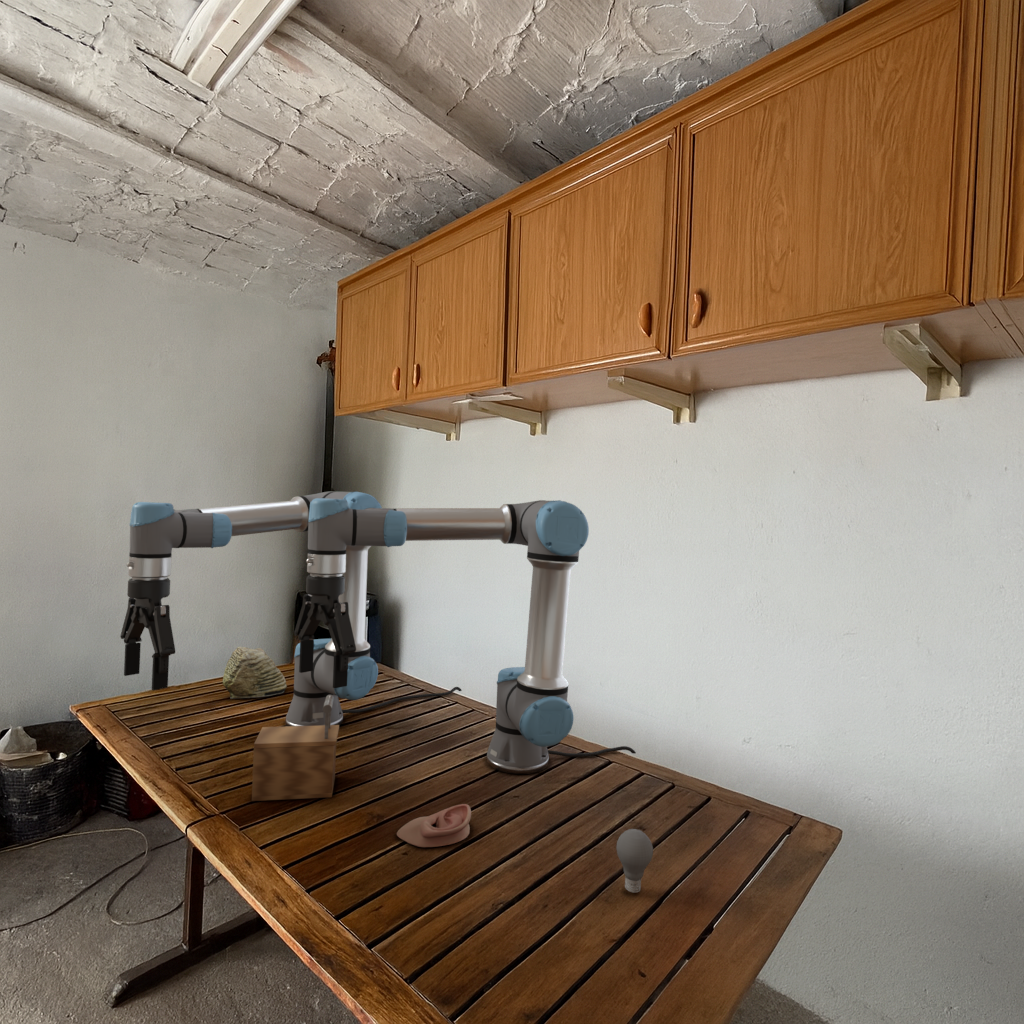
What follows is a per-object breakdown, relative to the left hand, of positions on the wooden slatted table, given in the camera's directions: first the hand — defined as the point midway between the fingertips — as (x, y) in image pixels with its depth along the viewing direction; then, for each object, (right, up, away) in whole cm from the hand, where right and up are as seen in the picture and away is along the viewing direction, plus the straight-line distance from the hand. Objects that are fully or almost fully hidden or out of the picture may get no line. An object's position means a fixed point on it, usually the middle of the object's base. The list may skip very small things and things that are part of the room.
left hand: (145, 681), depth 129 cm
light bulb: (+95, -29, -24) cm, 102 cm away
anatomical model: (+60, -27, -8) cm, 66 cm away
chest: (+28, -25, +7) cm, 39 cm away
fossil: (-6, -23, +69) cm, 73 cm away
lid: (+29, -14, +7) cm, 33 cm away
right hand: (+36, +1, -1) cm, 37 cm away
